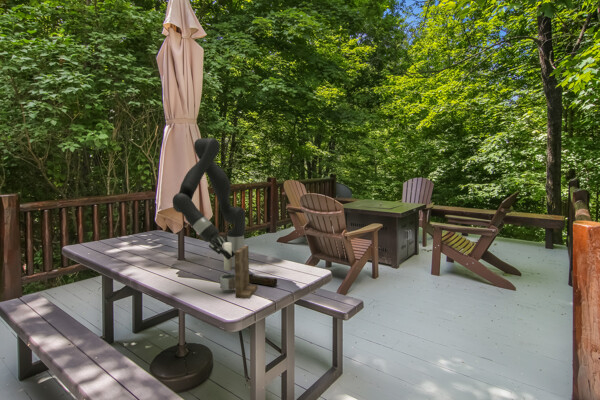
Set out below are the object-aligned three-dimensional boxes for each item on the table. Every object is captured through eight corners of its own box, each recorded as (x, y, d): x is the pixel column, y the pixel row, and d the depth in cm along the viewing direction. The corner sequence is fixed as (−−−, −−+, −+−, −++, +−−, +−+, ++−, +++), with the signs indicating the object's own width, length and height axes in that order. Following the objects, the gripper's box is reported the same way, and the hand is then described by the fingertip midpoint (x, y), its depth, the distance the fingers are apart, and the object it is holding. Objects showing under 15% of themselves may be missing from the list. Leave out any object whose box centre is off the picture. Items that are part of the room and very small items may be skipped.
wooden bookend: (245, 287, 158) (244, 245, 156) (257, 288, 157) (256, 246, 154) (235, 297, 146) (234, 252, 144) (248, 298, 145) (248, 252, 143)
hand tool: (277, 285, 161) (277, 276, 160) (273, 288, 157) (273, 278, 157) (244, 280, 169) (244, 271, 168) (239, 282, 165) (239, 273, 164)
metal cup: (224, 284, 157) (224, 273, 156) (243, 285, 155) (242, 274, 154) (218, 289, 150) (218, 278, 149) (237, 290, 148) (237, 279, 148)
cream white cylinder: (225, 268, 154) (225, 242, 152) (233, 268, 153) (232, 242, 152) (222, 270, 150) (222, 243, 149) (230, 270, 150) (229, 244, 148)
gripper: (203, 226, 144) (231, 255, 143) (217, 220, 158) (243, 247, 157) (192, 238, 146) (220, 267, 145) (207, 231, 159) (232, 258, 158)
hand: (231, 256), depth 151 cm, fingers closed on cream white cylinder, 3 cm apart
